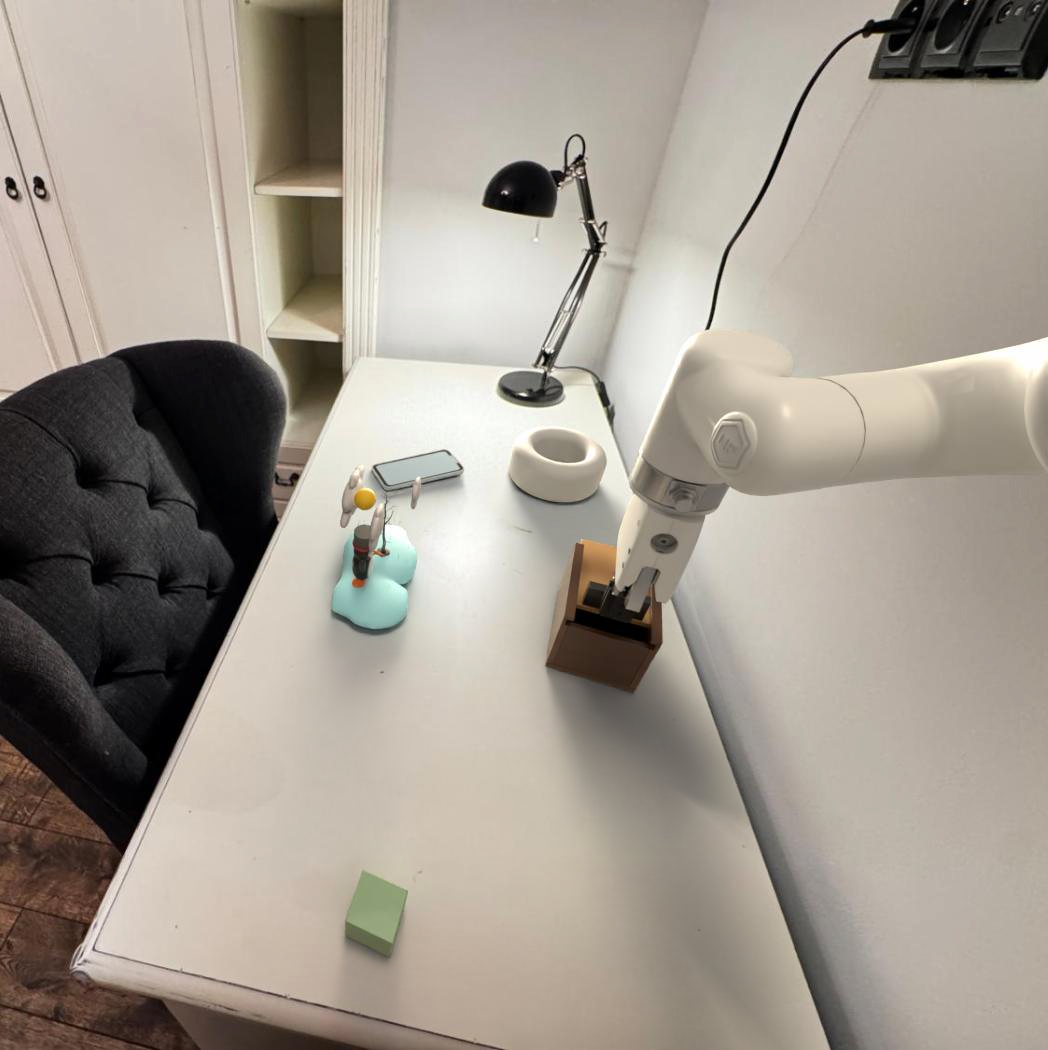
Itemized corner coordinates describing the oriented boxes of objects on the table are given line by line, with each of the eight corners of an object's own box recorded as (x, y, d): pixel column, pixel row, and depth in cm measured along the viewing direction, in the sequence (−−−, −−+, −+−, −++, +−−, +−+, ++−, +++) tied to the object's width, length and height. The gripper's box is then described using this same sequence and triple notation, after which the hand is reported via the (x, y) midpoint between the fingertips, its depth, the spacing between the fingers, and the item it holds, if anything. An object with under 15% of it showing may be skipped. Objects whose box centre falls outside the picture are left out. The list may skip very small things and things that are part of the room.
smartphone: (369, 465, 99) (447, 448, 103) (369, 469, 100) (446, 452, 103) (385, 488, 94) (466, 469, 98) (385, 493, 95) (465, 474, 98)
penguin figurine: (402, 641, 71) (411, 552, 61) (319, 625, 73) (316, 537, 63) (421, 537, 86) (432, 453, 76) (353, 527, 88) (354, 443, 78)
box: (633, 693, 66) (662, 643, 60) (544, 665, 68) (564, 615, 62) (635, 613, 75) (661, 563, 69) (557, 592, 78) (575, 542, 72)
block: (405, 905, 49) (408, 889, 47) (390, 958, 46) (392, 944, 44) (362, 886, 50) (363, 869, 48) (344, 935, 48) (344, 921, 45)
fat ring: (513, 448, 105) (520, 416, 101) (598, 464, 101) (609, 431, 97) (501, 494, 94) (509, 460, 90) (596, 514, 90) (609, 480, 86)
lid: (650, 628, 63) (661, 608, 61) (571, 606, 65) (579, 586, 63) (650, 559, 71) (659, 538, 69) (580, 542, 74) (587, 521, 71)
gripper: (736, 540, 43) (651, 680, 55) (719, 443, 54) (651, 577, 66) (631, 517, 46) (571, 656, 57) (634, 427, 56) (583, 560, 68)
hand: (614, 614), depth 62 cm, fingers closed
